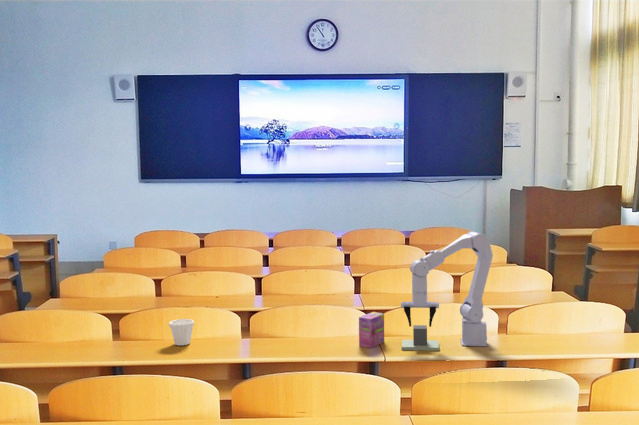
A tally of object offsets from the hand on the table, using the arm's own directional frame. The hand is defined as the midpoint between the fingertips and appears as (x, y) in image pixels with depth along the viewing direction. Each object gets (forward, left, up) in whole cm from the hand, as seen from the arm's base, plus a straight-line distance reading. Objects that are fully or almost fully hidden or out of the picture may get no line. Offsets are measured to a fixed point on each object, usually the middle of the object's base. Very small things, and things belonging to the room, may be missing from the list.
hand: (420, 326), depth 244 cm
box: (+19, -2, -9) cm, 21 cm away
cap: (0, 0, -7) cm, 7 cm away
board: (0, 0, -8) cm, 8 cm away
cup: (+96, +4, -8) cm, 97 cm away
